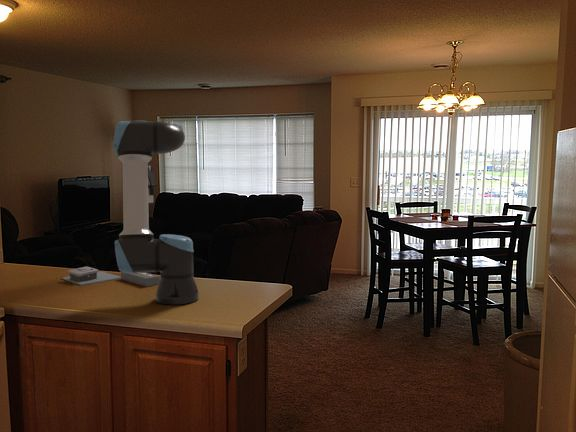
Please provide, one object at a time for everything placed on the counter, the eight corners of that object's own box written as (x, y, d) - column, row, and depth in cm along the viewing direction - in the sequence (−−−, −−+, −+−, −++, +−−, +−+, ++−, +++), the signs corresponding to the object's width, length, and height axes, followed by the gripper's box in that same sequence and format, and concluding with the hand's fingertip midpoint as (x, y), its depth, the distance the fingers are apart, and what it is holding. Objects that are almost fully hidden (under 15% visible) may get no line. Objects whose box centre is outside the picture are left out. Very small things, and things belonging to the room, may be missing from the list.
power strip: (159, 284, 206) (159, 274, 205) (146, 287, 201) (146, 277, 201) (133, 277, 219) (133, 267, 219) (121, 279, 215) (120, 269, 214)
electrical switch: (99, 270, 213) (79, 270, 206) (98, 282, 213) (77, 282, 206) (87, 266, 219) (67, 266, 211) (86, 278, 219) (65, 278, 211)
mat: (122, 278, 216) (122, 277, 216) (81, 285, 203) (81, 284, 203) (101, 272, 228) (101, 271, 228) (61, 278, 215) (61, 277, 215)
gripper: (163, 155, 223) (164, 202, 225) (133, 155, 240) (135, 200, 242) (148, 154, 218) (150, 203, 220) (119, 155, 234) (120, 200, 237)
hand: (142, 202), depth 231 cm, fingers open, 13 cm apart
